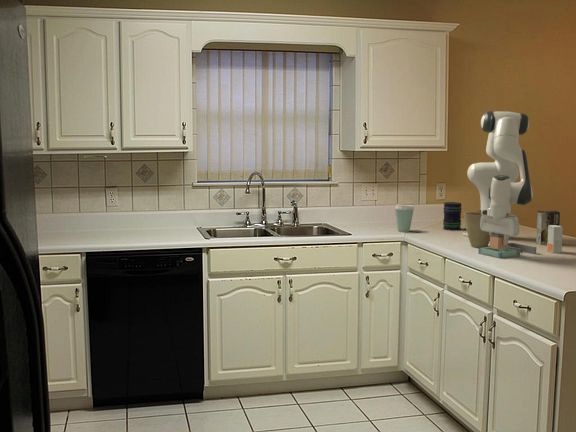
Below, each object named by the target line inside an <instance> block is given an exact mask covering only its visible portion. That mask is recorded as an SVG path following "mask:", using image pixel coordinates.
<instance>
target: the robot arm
mask: <svg viewBox="0 0 576 432" xmlns="http://www.w3.org/2000/svg"><path fill="white" fill-rule="evenodd" d="M480 126H481V130H482V131H483V132H484V133H487V134H488V136H487V140H486V146H485V147H486V148H485V152H486V154H487V156H488V157H489V158H491V159H493V160H494V161H493V162H488V161H487V162H486V161H485V162H483V161H482V162H475V163H472V164H471V165H469V166H468V168H467V172H466V173H467V178H468V180H469V182H471V183H472V184H474V186H475V187H476V188H477V190H478V192H479V197H480V209H479V210H477V211H476V212H481V215H482V216H481V221H480V228H481V230H482V231H487V232H489V235H490V234H504V237H505V238H504V240H502V244H503V245H507V240H508V241H509V239H510V237H516V236H519V234H520V223H519V217H518V216H517V214H512V213H511V212H512V211H511V210H512V208H511V207H512V204H513V205H514V204H515V205H522V206H527V205H528V204H529V203H530V202H531V201H532V199H533V197H534V192H533V187H532V184H531V179H530V172H529V171H530V170H529V164H528V157H527V154H526V151H525V149H523V148H521V145H520V142H519V141H520V140H519V139H520V136H522V135H525V134H526V133H527V132H528V130H529V128H530V120H529V117H528V115H527V114H526V113H522V112H520V113H518V112H514V111H507V110H506V111H502V110H501V111H493V110H489V111H485V112H484V113H483V115H482V116H481V119H480ZM519 177H520V179H519V180H520V181H519V182H516V180H517V179H518V178H519ZM462 235H463V236H467V237H468V234H467V231H465V232H464V231H463V232H462Z"/></svg>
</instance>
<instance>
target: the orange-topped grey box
mask: <svg viewBox="0 0 576 432" xmlns="http://www.w3.org/2000/svg"><path fill="white" fill-rule="evenodd" d="M504 238H505V237H504V234H490V242H489V247H490V248H493V249H508V243H509V239H508V240H507V245H503V244H502V240H504Z"/></svg>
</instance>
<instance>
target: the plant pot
mask: <svg viewBox="0 0 576 432" xmlns="http://www.w3.org/2000/svg"><path fill="white" fill-rule="evenodd" d="M481 216H482V215H481V212H477V211H469V212H463V217H464V225H465V228H466V229H465V230H466V232H467V234H468V236H467V237H468V240H469V243H470V246H471V247H472V248H475V249H477V248H478V249H479V248H485V247H489V245H490V235H489V232H487V231H482V230H481V228H480V221H481Z"/></svg>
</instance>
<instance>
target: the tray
mask: <svg viewBox="0 0 576 432" xmlns="http://www.w3.org/2000/svg"><path fill="white" fill-rule="evenodd" d="M478 254H479V255H482V256H483V255H484V256H489V257H492V258H496V259H497V258H498V259H505V258H513V257H514V258H515V257H519V256H518V255H519V251H518V250H513V249H493V248H490V246H487V247H485V248H478Z"/></svg>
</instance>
